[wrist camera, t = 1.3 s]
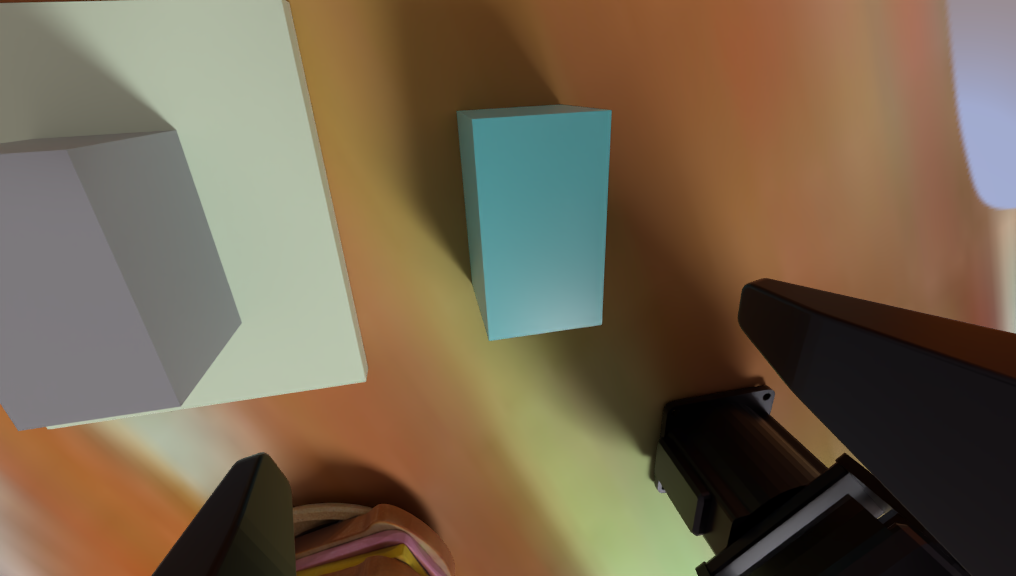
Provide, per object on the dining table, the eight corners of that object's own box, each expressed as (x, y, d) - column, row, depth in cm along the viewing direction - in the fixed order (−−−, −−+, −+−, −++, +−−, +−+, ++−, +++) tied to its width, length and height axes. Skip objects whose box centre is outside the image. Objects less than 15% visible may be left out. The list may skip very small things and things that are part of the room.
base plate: (289, 2, 14) (280, -3, 13) (368, 368, 20) (366, 381, 19) (-168, 13, 12) (-214, 7, 11) (65, 412, 18) (48, 429, 17)
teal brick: (559, 104, 17) (611, 110, 13) (559, 272, 20) (601, 324, 16) (456, 110, 17) (471, 119, 12) (471, 282, 19) (489, 340, 15)
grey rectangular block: (176, 130, 14) (65, 149, 10) (242, 322, 17) (180, 406, 13) (31, 139, 14) (-157, 164, 9) (125, 337, 16) (18, 430, 12)
